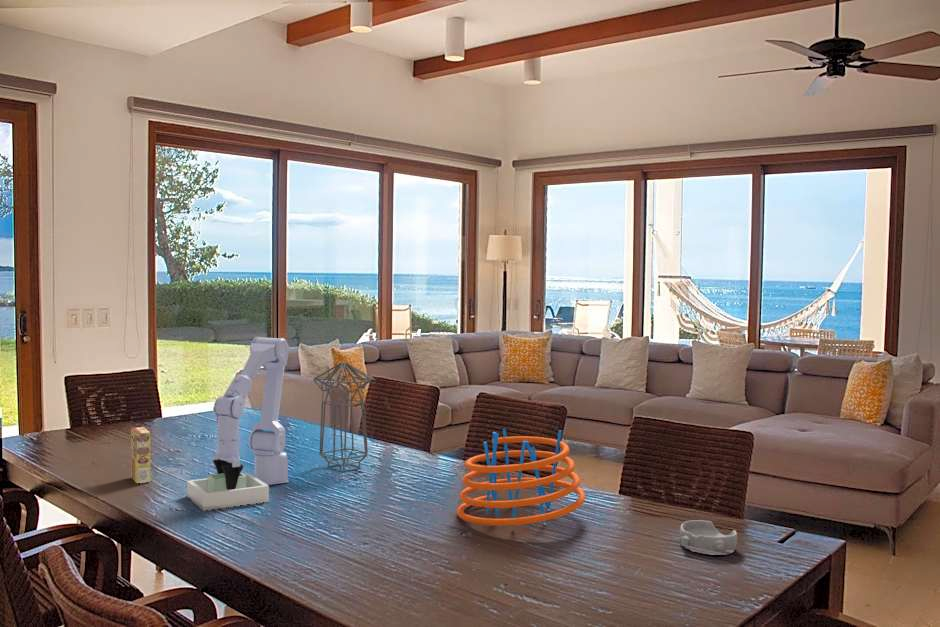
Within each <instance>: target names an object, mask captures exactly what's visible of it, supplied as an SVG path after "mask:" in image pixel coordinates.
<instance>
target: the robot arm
mask: <svg viewBox="0 0 940 627" xmlns="http://www.w3.org/2000/svg"><path fill="white" fill-rule="evenodd" d="M289 350H290V345H289V344H288V342H287V340H286V339H285V338H283V337H278V338H277V337H263V336H255V337H254V338H253V340H252V341H251V343H250V345H249V354H250V355H249V356H248V358H247V360H246V363H245V365H244V367H243V369H242V371H241V373H240V374H238V375H235V376H234V377H233V378H232V381H231V382H230V384H229V386H228V387H227V389H226V390H225V392H224V394H223V395H221V396H220V397H217V398H216V400H215V401H214V404H213V405H214V406H213V408H212V409H213V413H214V416H215V422H216V423H217V449H216V453H215V455H213V456H212V457H213V460H212V463H213V465H214V466H215V469H216V474H220V473H224V474H225V479H226V487H227V490H232V489H235V488H236V485H237V481H238V477H239V475H240V472H242V471H243V469H244V465H243V464H242V463H241V459H240V454H239V452H240V449H239V447H240V446H239V445H240V444H239V443H240V439H239V438H240V432H239V431H240V417H241V416H242V414H244V410H245V404H246V399H247V397H248V395H249V394H250V392H251V390H252V389H253V385H254V384H253V382H252V381H253V379H254V378H255V376H256V375H257V373H258V372H259V371H260V369H261V368H262V366H264V367H265V369H266V373H265V380H264V388H263V396H262V404H261V413H260V420H258V422H256V423H255V424H253V426H252V429H251V431H250V432H251V433H250V434H249V438H248V447H249V448H250V450H251V451H252V454H254V477H256V478H257V479H259V480H261V481H262V482H264V483H265V484H267V485H268V486H271V485H278V484H285V483H289V479H288V472H289V463H288V455H287V453H286V452H285V451H284V449H285V447H286V442H287V439H286V428H285V427H284V426H283V425H282V424H281V423H280V422H279V416H280V406H281V398H282V390H283V381H284V374H285V368H286V366H287V365H288V360H289V359H288V358H289ZM265 430H266V431H265Z"/></svg>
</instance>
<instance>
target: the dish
mask: <svg viewBox="0 0 940 627" xmlns="http://www.w3.org/2000/svg"><path fill="white" fill-rule="evenodd" d="M680 540H681V543H682V544H683V545H685V546H687V545H688V546H692V547H696V548H700V549H706V550H712V551H726V550H731V549H733V548H735V547H736V548H737V544H738V532H737V530H735V529H733V530H732V531H731V532H730V533H729V534H726V535H725V534H723V533H721V532H720V531H719V530H718V529H717V528H716V527H715V525H714V523H713V522H712V521H711V520H704V519H702V520H701V519H697V520H696V519H692V520H686V521H683V523H681V525H680V527H679V541H680ZM681 543H680V544H681Z"/></svg>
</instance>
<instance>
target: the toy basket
mask: <svg viewBox="0 0 940 627" xmlns="http://www.w3.org/2000/svg"><path fill="white" fill-rule="evenodd" d="M502 433H503V437H502V436H501V437H499V436H500V434H499V433H497V432H496V431H493V432H492V438H491V443H492V452H489V448H488V442H487V441H483V447H484V453H482V454H478V455H474V456H471V457H469V458H468V459H466V461H465V462H464V467H465V468H466V469H468V470H469V471H470V472H468V473H466V474H465V475H463V477H462V483H463V485H464V486H465V487H466V488H464V489H463V490H462V491H461V492H460V494H459V498H460V500H461V502H463V503H462V504H461V505H459V506H458V508H457V511H456V512H457V516H458V517H459V519H461V520H462V519H463V520H462V521H465V522H467V523H470V524H476V525H483V526H491V527H492V526H499V527H501V526H519V525H527V524H535V523H540V522H542V521H543V522H546V523H547V521H550V520H554V519H556V518H560V517H562V516H566V515H568V514H570V513H573V512H574V511H576V510H578V509H579V508H580V507H582V506H583V504H584V503H585V500H586V494H585V491H584V490H583V489H582V488H580V487H579V486H580V484H581V479H580V477H579V475H578V474H577V473H576V472H574V470H575V467H576V465H575V461H574V460H573V459H572V458H570V457H569V456H568V455H569V454H570V451H571V450H570V447H569V445H568V444H567V443H566V442H564V441H562V440H561V439H562V438H561V437H562V430H558V434H557V439H555V438H549V437H543V436H542V437H541V436H525V435H524V436H520V435H519V436H507V429H506V428H502ZM511 443H512V444H513V443H516V444H517V443H521V444H522V445H521V450H518V449H517V450H509V448H508V444H511ZM530 443H532V444H543V445H544V444H545V445H550V446H555V451H554V452H552V451H543V450H536V448H535V445H534V446H533V445H532V446H530ZM498 444H499V445H500V444H503V446H504V447H503V448H504V450H503V451H497V449H498ZM560 449H562V451H561V452H560V453H559V451H560ZM512 457H520V459H519V463H515V464H510V461H509V458H512ZM525 457H530V462H524V459H525ZM537 457H538V458H544V459H540V460H537ZM499 458H500V459H501V458H505V464H503V465H497V459H499ZM485 460H486V465H480V464H476V463H479V462H481V461H485ZM490 460H491V461H490ZM560 461H561V462H563V463H566V464H567V467H566V468H564V467H561V466H557V464H558V462H560ZM523 471H534V473H535V474H534V475H535V477H522V474H523ZM539 471H540V472H551V475H548V476H545V477H540V473H539ZM512 472H517V477H511V473H512ZM498 473H499V474H501V473H506V476H507V477H506V478H502V479H497V474H498ZM487 474H488V477H489V478H488V480H487V481H483V482H478V481H472V480H471V479H473V478H476V477H479V476H483V475H487ZM566 477H568V478H571V479H572V480H573V482H572V483H571V482H567V481H563V480H562V479H564V478H566ZM544 485H545V486H549V489H548V490H549V492H548V494H546V492H545V489H544ZM554 486H556V487H559V488H562V489H561V490H558V491H555V492H553V490H554ZM534 487H537V494H538V496H535V497H529V498H523V499H519V493H520V490H521V489H526V488H527V489H528V488H534ZM478 490H483V491H487V492H486V495H482V496H478V497H475V498H471V497H469V496H467V495H469V494H471V493H473V492H475V491H478ZM506 490H507V492H508V500H498V499H497V498H498V497H497V491H506ZM513 490H515V493H514V500H513V495H512V494H513V493H512V492H513ZM574 492H575V493H576V494H577V495H578V499H576V500H575V501H574V502H572V504H569V505H567V506H565V507H563V508H561V509H557V510H554V511H549V512H547V513H545V508H546V510H547V509H550V510H551V503H552V501H556V500H559V499H561V498H564V497H566V496H568V495H570V494H572V493H574ZM490 498H492V500H491V501H489V499H490ZM485 499H486V501H484V500H485ZM544 504H545V508H544ZM469 505H472V506H471V507H479V508H484V511H483V514H484V513H485V514H487V515H488V511H489V509H491V508H492V509H494V515H495V517H499V510H498V509H503V508H505V509H507V508H512V514H511V518H509V517H508V518H487V517H478V516H473V515H470V514H467V513H465V510H466V509H465V508H466V507H467V506H469ZM534 505H539V508H540V514H535V515H530V516H522V517H516V515H517V508H522V507H528V506H534ZM464 509H465V510H464ZM485 514H484V515H485ZM543 522H542V523H543Z"/></svg>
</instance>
